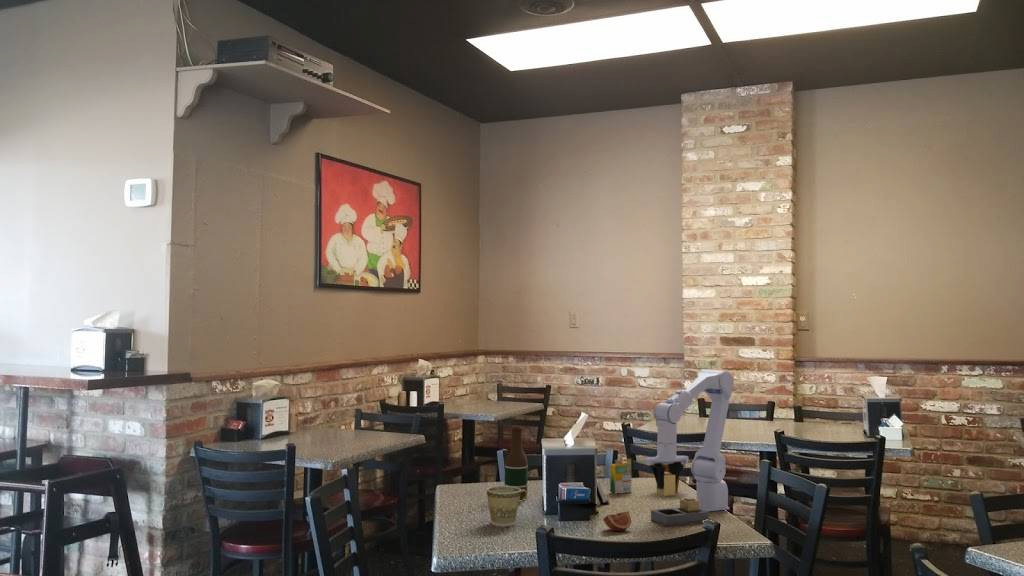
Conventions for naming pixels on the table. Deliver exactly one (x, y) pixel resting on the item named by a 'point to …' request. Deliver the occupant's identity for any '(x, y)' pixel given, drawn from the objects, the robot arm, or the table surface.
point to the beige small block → (668, 485)
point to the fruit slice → (618, 521)
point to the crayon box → (620, 476)
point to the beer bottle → (516, 463)
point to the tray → (680, 514)
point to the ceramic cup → (504, 504)
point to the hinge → (601, 495)
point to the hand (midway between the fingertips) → (666, 487)
